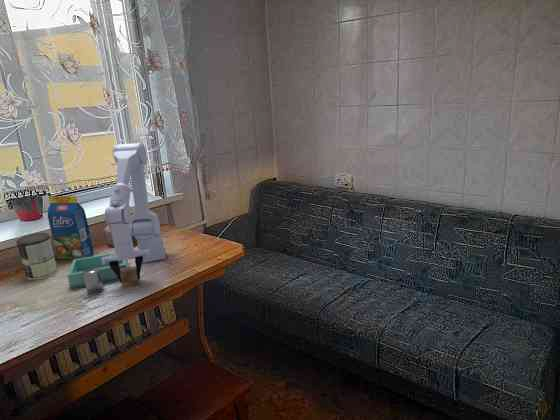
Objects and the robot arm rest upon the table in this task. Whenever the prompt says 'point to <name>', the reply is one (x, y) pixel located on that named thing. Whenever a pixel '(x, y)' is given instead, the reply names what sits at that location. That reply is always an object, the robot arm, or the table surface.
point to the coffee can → (37, 256)
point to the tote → (92, 262)
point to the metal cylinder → (93, 280)
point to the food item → (110, 239)
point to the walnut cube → (129, 277)
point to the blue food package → (69, 228)
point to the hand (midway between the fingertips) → (130, 279)
